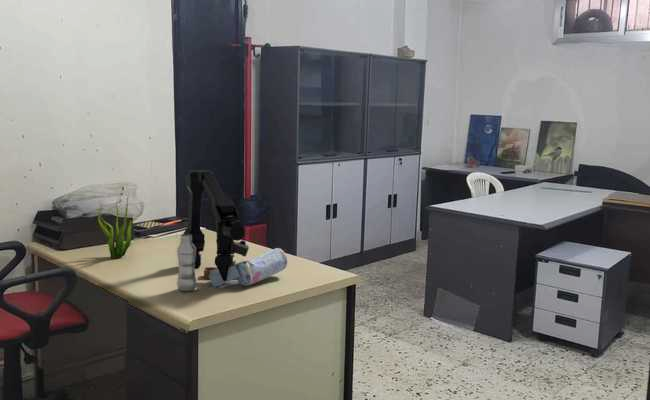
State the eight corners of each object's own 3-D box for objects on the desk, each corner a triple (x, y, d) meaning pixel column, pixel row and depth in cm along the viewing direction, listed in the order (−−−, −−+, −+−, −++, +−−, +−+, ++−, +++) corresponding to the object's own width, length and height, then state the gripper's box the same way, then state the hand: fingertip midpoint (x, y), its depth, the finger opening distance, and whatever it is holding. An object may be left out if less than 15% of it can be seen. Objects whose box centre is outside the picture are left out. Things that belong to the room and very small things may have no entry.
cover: (214, 287, 217) (208, 276, 216) (215, 282, 223) (210, 271, 223) (239, 276, 217) (234, 265, 216) (240, 271, 224) (235, 260, 223)
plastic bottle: (178, 287, 216) (177, 233, 213) (197, 287, 217) (197, 233, 214) (175, 293, 210) (174, 237, 207) (195, 293, 211) (194, 237, 207)
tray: (204, 279, 228) (203, 270, 227) (205, 275, 233) (205, 267, 232) (246, 278, 230) (246, 270, 229) (247, 275, 234) (247, 267, 234)
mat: (206, 288, 216) (206, 287, 216) (208, 282, 224) (208, 281, 224) (240, 288, 218) (240, 287, 218) (241, 281, 225) (241, 281, 225)
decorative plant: (84, 203, 240) (89, 186, 253) (110, 263, 255) (114, 244, 268) (129, 192, 242) (131, 176, 254) (153, 252, 257) (154, 233, 269)
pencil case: (249, 289, 216) (246, 263, 214) (233, 284, 221) (230, 259, 219) (290, 272, 231) (288, 248, 229) (274, 268, 237) (272, 244, 235)
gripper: (246, 240, 210) (247, 284, 212) (247, 230, 228) (248, 271, 230) (214, 241, 208) (215, 285, 210) (217, 231, 227) (218, 271, 229)
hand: (225, 278), depth 220 cm, fingers closed on cover, 7 cm apart
